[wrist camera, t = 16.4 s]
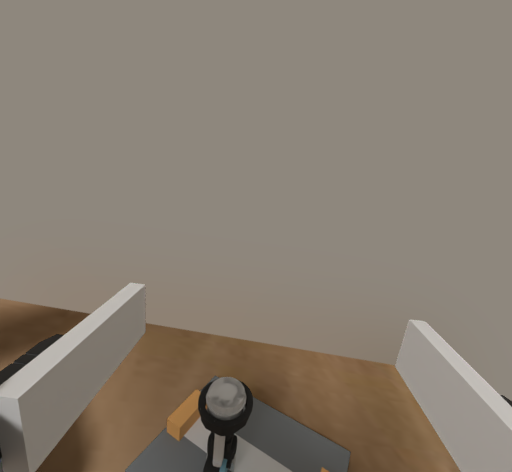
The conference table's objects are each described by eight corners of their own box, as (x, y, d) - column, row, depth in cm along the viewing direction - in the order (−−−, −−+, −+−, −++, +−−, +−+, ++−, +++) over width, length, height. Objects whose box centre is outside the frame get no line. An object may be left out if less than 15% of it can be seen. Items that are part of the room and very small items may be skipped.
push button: (209, 424, 31) (213, 357, 29) (251, 434, 31) (259, 366, 28) (186, 489, 25) (189, 410, 22) (239, 503, 24) (248, 424, 22)
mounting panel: (125, 478, 26) (124, 455, 26) (214, 381, 39) (216, 364, 38) (313, 662, 18) (320, 635, 17) (348, 459, 30) (354, 439, 30)
